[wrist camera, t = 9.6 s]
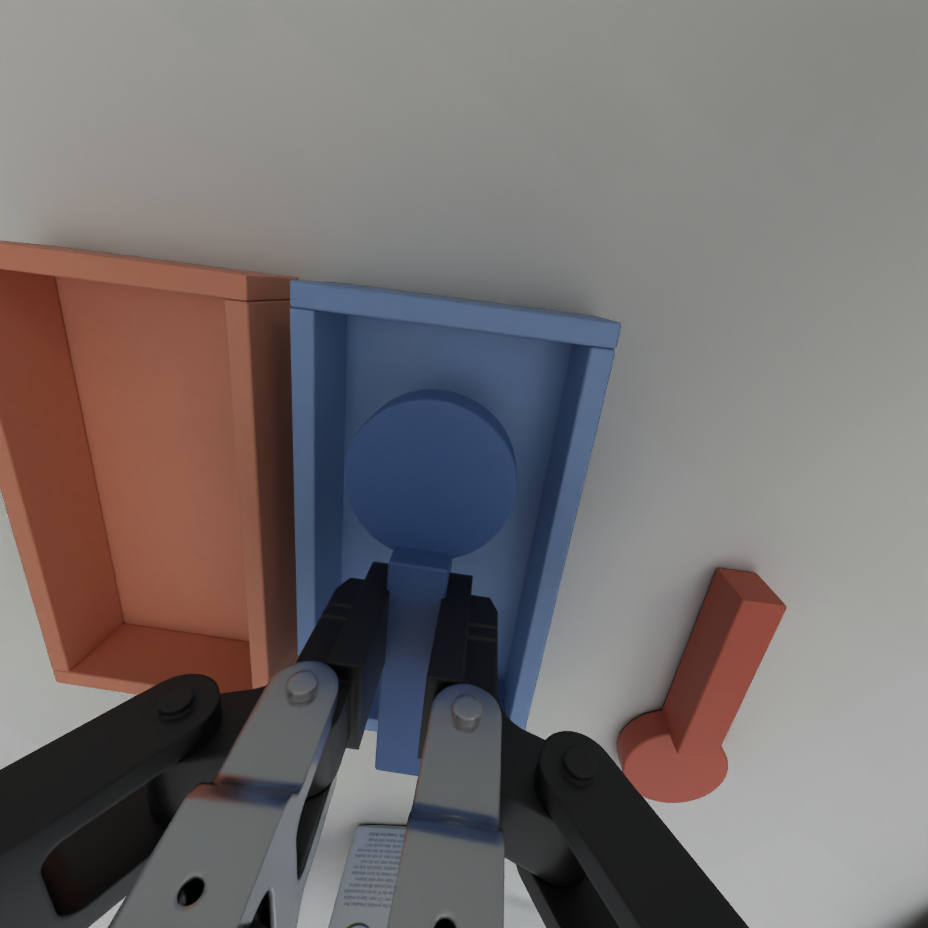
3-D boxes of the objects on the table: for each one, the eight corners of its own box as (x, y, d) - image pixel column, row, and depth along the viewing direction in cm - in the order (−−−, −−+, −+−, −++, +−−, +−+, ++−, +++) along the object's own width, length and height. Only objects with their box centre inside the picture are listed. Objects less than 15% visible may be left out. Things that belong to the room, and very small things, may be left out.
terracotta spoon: (698, 783, 19) (717, 829, 18) (606, 769, 19) (616, 814, 18) (795, 577, 15) (831, 612, 14) (678, 561, 16) (700, 594, 14)
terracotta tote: (45, 244, 13) (-76, 232, 11) (299, 277, 13) (245, 274, 10) (122, 623, 19) (55, 682, 16) (305, 651, 18) (270, 715, 16)
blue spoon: (359, 378, 11) (332, 394, 9) (528, 400, 10) (534, 420, 9) (349, 708, 14) (329, 763, 13) (472, 727, 14) (468, 785, 13)
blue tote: (333, 282, 13) (287, 279, 10) (596, 315, 13) (622, 322, 10) (329, 654, 18) (298, 720, 15) (516, 683, 18) (519, 754, 15)
